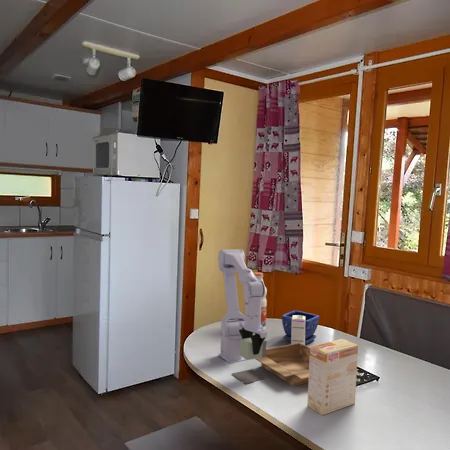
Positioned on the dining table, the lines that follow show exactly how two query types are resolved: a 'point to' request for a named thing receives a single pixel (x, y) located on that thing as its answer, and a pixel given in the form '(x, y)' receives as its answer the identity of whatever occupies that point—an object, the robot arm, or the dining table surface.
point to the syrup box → (298, 329)
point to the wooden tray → (288, 362)
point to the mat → (248, 376)
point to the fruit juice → (264, 301)
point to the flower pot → (309, 321)
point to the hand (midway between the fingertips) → (251, 351)
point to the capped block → (251, 349)
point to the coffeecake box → (332, 376)
